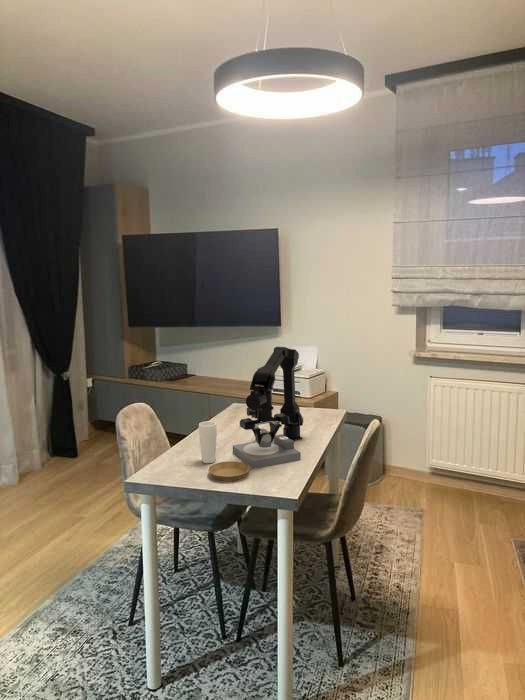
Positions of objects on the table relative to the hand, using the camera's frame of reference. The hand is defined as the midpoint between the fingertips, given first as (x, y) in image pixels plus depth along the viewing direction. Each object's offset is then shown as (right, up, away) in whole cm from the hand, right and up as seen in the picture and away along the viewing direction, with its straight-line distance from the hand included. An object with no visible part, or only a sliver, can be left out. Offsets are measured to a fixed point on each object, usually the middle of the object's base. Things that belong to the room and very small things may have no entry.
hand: (265, 442), depth 203 cm
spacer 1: (-2, -4, +23) cm, 23 cm away
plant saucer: (-13, -10, -13) cm, 21 cm away
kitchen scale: (0, -6, +5) cm, 8 cm away
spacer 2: (0, -1, 0) cm, 1 cm away
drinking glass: (-22, -7, 0) cm, 23 cm away
